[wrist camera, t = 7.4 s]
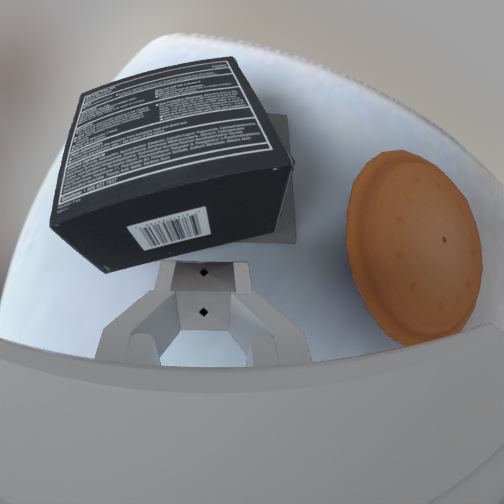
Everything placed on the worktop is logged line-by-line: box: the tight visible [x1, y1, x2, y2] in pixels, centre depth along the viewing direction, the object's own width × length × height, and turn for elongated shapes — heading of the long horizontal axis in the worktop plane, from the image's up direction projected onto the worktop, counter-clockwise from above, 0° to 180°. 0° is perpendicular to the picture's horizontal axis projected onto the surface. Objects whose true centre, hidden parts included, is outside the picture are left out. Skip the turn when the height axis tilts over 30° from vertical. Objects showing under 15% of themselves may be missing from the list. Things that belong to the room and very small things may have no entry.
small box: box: [49, 56, 295, 274], centre depth 14 cm, size 11×6×10 cm
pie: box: [345, 150, 483, 347], centre depth 18 cm, size 15×16×5 cm
